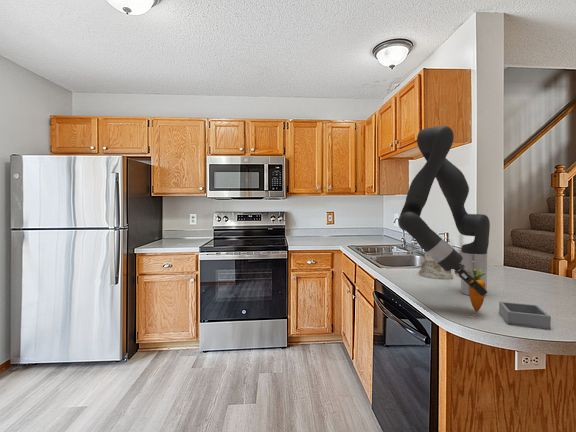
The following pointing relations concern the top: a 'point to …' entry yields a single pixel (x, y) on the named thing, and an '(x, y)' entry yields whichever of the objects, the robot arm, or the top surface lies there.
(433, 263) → the ceramic cottage
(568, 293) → the top surface
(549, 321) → the bin
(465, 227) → the robot arm
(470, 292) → the carrot
